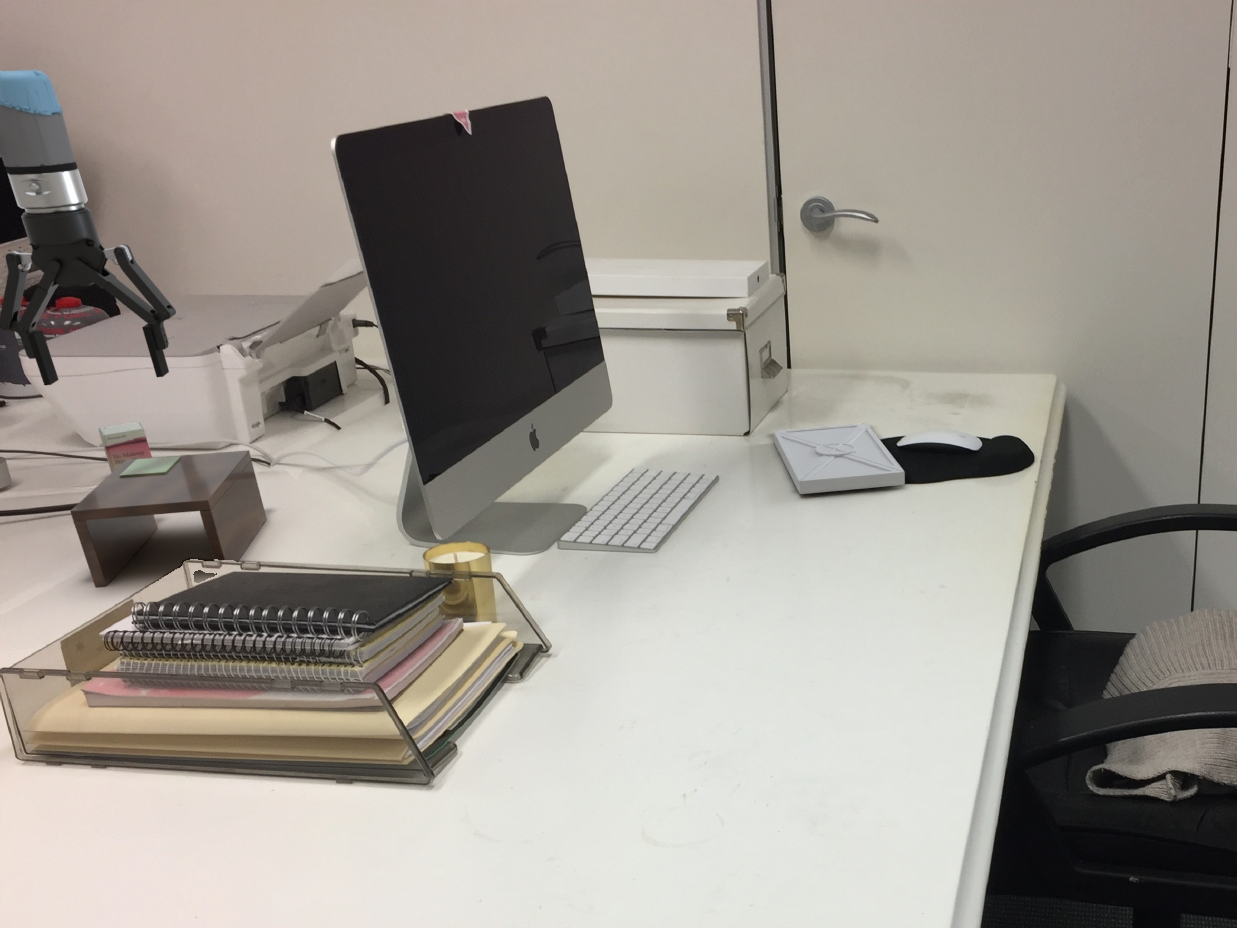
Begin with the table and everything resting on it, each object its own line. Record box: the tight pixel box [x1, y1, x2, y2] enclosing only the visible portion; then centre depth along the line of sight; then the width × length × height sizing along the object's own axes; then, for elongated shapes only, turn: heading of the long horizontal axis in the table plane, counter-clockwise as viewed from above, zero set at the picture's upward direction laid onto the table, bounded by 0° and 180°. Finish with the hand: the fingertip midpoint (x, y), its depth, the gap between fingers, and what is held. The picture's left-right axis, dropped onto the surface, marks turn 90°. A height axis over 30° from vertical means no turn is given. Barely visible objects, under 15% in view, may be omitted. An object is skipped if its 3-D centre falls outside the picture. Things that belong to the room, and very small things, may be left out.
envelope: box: [772, 422, 906, 495], centre depth 168 cm, size 24×2×14 cm
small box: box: [97, 421, 153, 474], centre depth 167 cm, size 5×4×8 cm
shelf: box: [69, 449, 268, 588], centre depth 144 cm, size 14×18×9 cm
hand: (107, 379), depth 162 cm, fingers open, 13 cm apart
